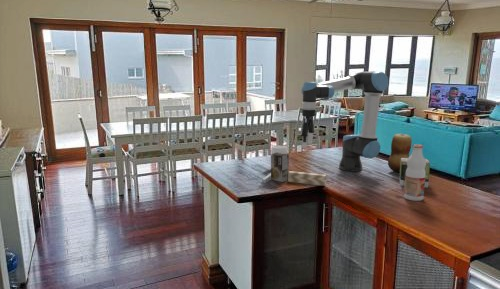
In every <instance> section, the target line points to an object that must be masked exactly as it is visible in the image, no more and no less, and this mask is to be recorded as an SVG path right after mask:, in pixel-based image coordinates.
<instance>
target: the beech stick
mask: <svg viewBox="0 0 500 289" xmlns="http://www.w3.org/2000/svg"><path fill="white" fill-rule="evenodd" d="M287 181H288V183H289V182H290V183H297V184H298V183H299V184H307V185H315V186H323V187H325V186H326V185H327V174H322V173H313V172H312V173H311V172H303V171H293V170H288V180H287Z"/></svg>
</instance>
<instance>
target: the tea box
mask: <svg viewBox="0 0 500 289" xmlns="http://www.w3.org/2000/svg"><path fill="white" fill-rule="evenodd" d="M407 159H408V158H401V163H400V172H399V185H400V186H401V187H402V186H403V187H405V174H406V169H407ZM425 160H426V166H425V172H426V175H425V186H424V188H427V189H428V188H429V184H430V183H429V181H430V167H431V166H430V165H431V163H430V161H429V159H427V158H425Z"/></svg>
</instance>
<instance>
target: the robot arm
mask: <svg viewBox="0 0 500 289" xmlns="http://www.w3.org/2000/svg"><path fill="white" fill-rule="evenodd" d="M388 86H389V77H388V76H387V74H386V73H385V72H383V71H378V70H376V71H374V70H373V71H367V70H366V71H360V72H355V73H353V74H349V75H347V76H346V77H342V78H337V79H331V80H326V81H322V82H316V81H304V82H303V85H302V87H301V94H302V103H301V105H302V110H301V111H302V113H301V114H302V117H305V118H303V124H302V131H301V134H300V136H301V137H302V141H301V147H302V148H303V149H307V148H308V145H313V138H314V137H313V136H314V133H315V128H314V117H315V116H316V108H317V99H321V100H322V99H332V98H333V97H334V96H335V93H336V92H341V91H346V90H349V91H352V90H363V94H364V95H365V99H364V107H363V117H362V123H361V133H360V134H346V135H343V138H342V154H341V159H340V162H339V166H338V169H340V170H342V171H346V172H359V171H362V170H363V164H362V161H361V157H363V158H364V159H374V158H375V157H377V156H378V155H379V153H380V152H381V143H380V142H379V141H378V136H377V135H376V132H377V126H378V125H377V124H378V117H379V116H378V115H379V107H380V100H381V96H382V95H383V94H384V91H386V90H387V89H388ZM302 148H301V149H302Z"/></svg>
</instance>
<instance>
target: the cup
mask: <svg viewBox="0 0 500 289" xmlns="http://www.w3.org/2000/svg"><path fill="white" fill-rule="evenodd" d="M270 152H271V154H273V153H277V152H278V153H284V154H288V148H287V146H286V145H279V144H278V145H273V146H271V150H270ZM271 154H270V155H271Z"/></svg>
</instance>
